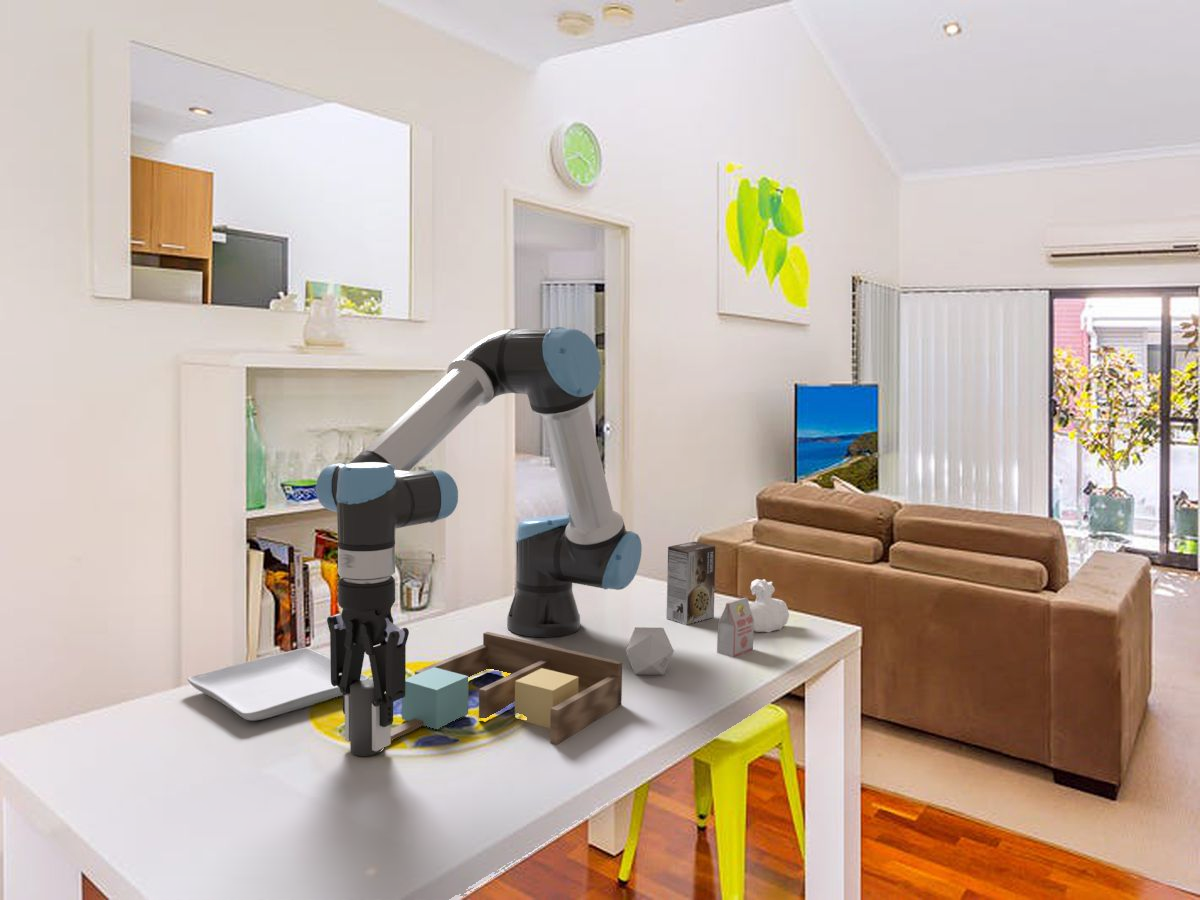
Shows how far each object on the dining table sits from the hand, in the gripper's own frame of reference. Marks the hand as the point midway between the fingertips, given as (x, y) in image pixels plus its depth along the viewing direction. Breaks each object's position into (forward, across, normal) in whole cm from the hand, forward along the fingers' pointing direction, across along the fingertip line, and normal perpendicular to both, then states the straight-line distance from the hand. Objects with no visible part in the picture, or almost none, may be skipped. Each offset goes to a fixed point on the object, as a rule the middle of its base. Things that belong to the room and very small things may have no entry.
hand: (367, 742), depth 118 cm
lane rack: (+1, +7, +26) cm, 26 cm away
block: (+2, +13, +24) cm, 27 cm away
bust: (+2, +24, +88) cm, 92 cm away
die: (+2, +17, +50) cm, 53 cm away
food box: (+2, +8, +86) cm, 86 cm away
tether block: (+1, 0, +7) cm, 7 cm away
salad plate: (+2, -27, +6) cm, 28 cm away
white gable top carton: (+2, +25, +70) cm, 75 cm away
